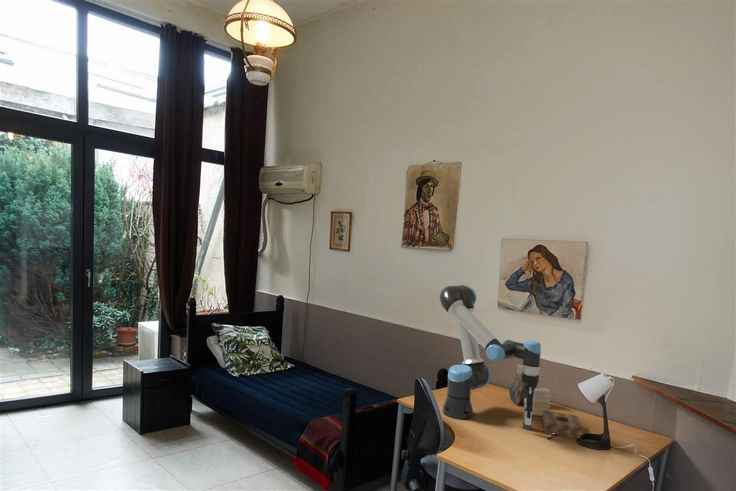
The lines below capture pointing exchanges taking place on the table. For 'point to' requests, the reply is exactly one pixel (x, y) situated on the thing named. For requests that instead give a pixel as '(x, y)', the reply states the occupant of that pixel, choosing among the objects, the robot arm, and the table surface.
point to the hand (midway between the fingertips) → (527, 420)
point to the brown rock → (518, 386)
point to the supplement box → (541, 401)
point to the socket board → (562, 424)
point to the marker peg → (526, 427)
